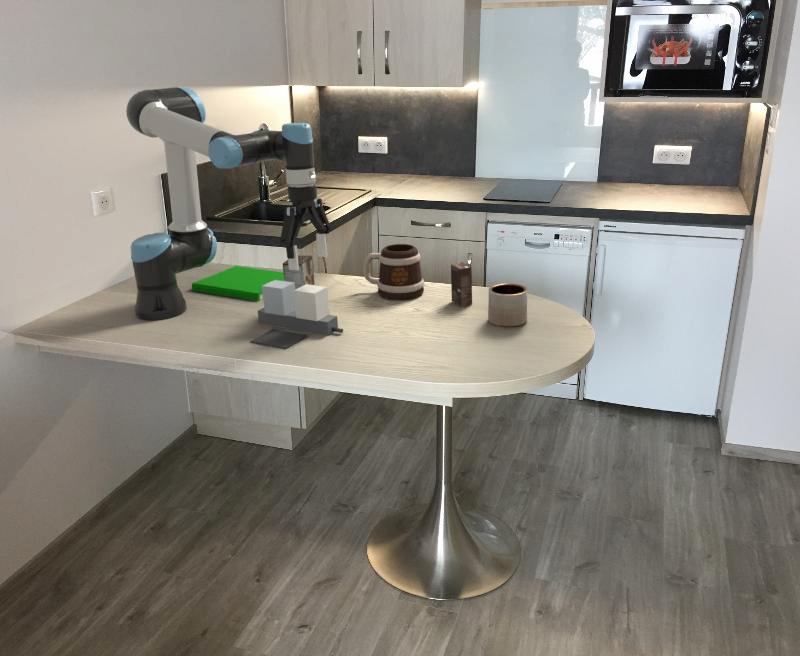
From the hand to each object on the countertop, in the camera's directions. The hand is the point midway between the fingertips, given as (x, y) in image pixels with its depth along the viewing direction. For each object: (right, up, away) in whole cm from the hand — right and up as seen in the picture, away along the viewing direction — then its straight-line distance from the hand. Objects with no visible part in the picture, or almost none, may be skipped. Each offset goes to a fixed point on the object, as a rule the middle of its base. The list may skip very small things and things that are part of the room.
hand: (308, 263), depth 196 cm
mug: (+23, -7, +35) cm, 42 cm away
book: (-27, -4, +48) cm, 55 cm away
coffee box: (-5, -12, +23) cm, 26 cm away
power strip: (-3, -17, +9) cm, 20 cm away
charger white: (0, -15, +6) cm, 17 cm away
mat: (-8, -21, +1) cm, 22 cm away
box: (+44, -10, +23) cm, 50 cm away
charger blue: (-9, -14, +11) cm, 20 cm away
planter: (+55, -16, +8) cm, 58 cm away
